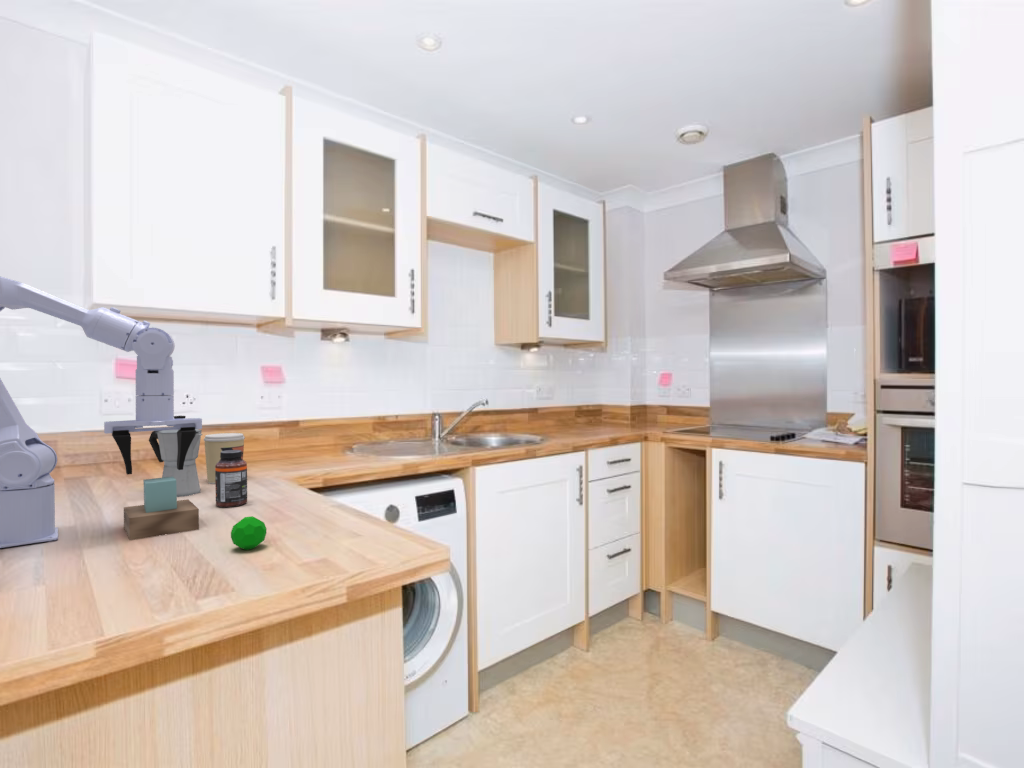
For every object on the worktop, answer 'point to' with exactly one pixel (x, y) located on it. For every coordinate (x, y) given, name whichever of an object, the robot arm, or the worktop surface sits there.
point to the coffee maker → (168, 454)
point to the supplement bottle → (231, 479)
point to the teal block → (160, 494)
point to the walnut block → (160, 520)
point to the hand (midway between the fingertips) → (155, 471)
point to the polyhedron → (248, 533)
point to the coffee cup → (220, 449)
